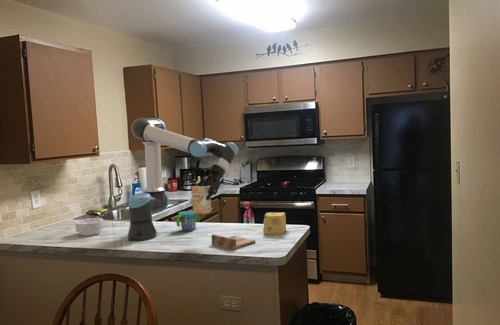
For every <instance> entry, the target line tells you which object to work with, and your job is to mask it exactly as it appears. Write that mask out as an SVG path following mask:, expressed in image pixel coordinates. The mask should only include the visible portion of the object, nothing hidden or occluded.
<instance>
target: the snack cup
mask: <svg viewBox="0 0 500 325" xmlns="http://www.w3.org/2000/svg"><path fill="white" fill-rule="evenodd" d="M200 219H201V218H200V214H199V213H193V210H185V211H184V210H183V211H180V212H178V215H177V218H176V223H175V224H176V226H177V227H181V230H182V231H184V232H190V231H191V232H192V231H194V229H195V230H196V226H197V222H198V223H199V222H200Z"/></svg>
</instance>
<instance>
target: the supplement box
mask: <svg viewBox="0 0 500 325" xmlns="http://www.w3.org/2000/svg"><path fill="white" fill-rule="evenodd" d="M209 188H210V186H207V187H206V186H196V185H195V186H192V187H191V197H192V200H193V205H192V211H193V213H198V214H203V215H204V214H205V215H206V214H210V213H212V205H211V204H212V202H211V198H210V199H209V200H208V202H207V204H206V205H205V207H203V206H202V205H201V204H200V203H201V201H202V200H203V198H204V196H205V195H206V193H209V192H208V191H209Z"/></svg>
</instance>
